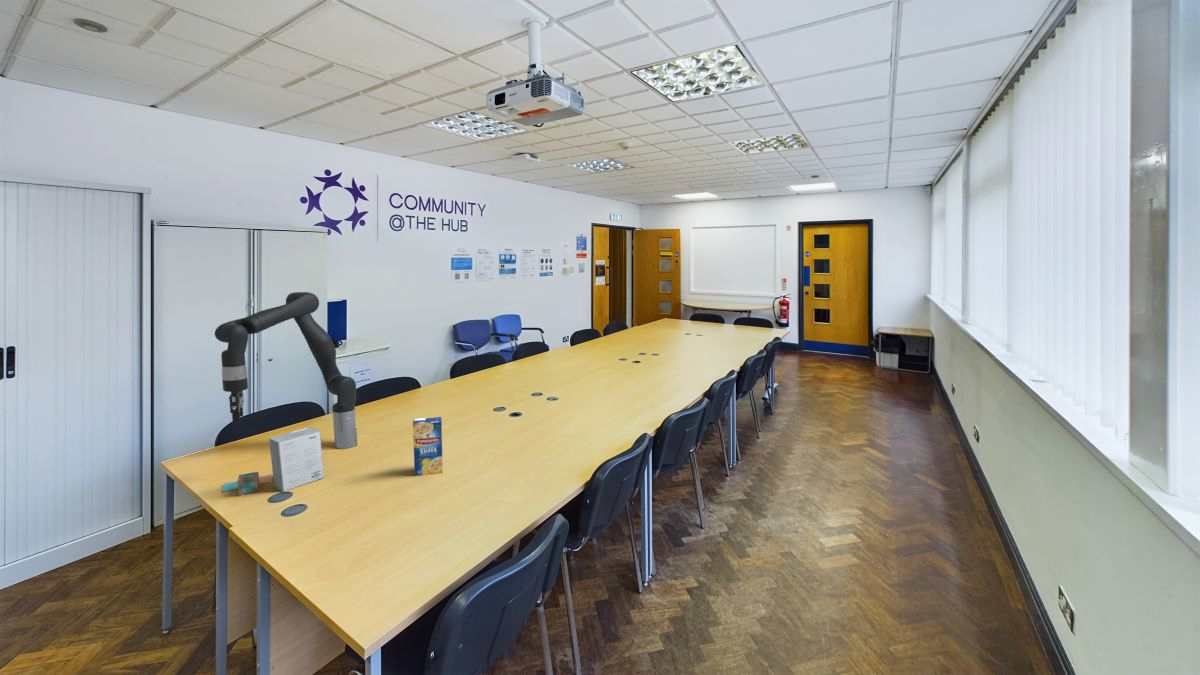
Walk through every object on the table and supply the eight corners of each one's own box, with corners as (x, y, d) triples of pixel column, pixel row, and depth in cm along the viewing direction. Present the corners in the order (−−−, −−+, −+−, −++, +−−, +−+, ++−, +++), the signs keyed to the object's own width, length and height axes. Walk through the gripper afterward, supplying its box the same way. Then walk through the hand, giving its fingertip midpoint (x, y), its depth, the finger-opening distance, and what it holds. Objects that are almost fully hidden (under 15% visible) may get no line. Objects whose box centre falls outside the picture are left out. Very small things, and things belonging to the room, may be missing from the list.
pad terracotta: (271, 475, 198) (271, 474, 198) (270, 482, 192) (270, 481, 192) (250, 479, 194) (250, 478, 194) (248, 486, 188) (248, 485, 188)
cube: (259, 486, 189) (258, 471, 188) (258, 492, 184) (257, 477, 183) (240, 490, 186) (238, 474, 185) (238, 496, 181) (237, 480, 180)
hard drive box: (315, 473, 201) (311, 426, 198) (324, 478, 197) (321, 430, 194) (272, 487, 188) (268, 437, 185) (282, 492, 184) (277, 441, 181)
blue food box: (415, 469, 207) (413, 418, 203) (443, 466, 210) (441, 416, 206) (414, 476, 200) (412, 424, 197) (442, 473, 203) (441, 422, 200)
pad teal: (246, 481, 193) (246, 479, 193) (245, 488, 187) (245, 486, 187) (224, 485, 189) (224, 483, 189) (222, 492, 183) (222, 490, 183)
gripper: (244, 380, 179) (248, 423, 181) (249, 372, 191) (252, 413, 193) (219, 382, 175) (222, 426, 177) (225, 374, 187) (228, 415, 189)
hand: (238, 419), depth 185 cm, fingers open, 8 cm apart
